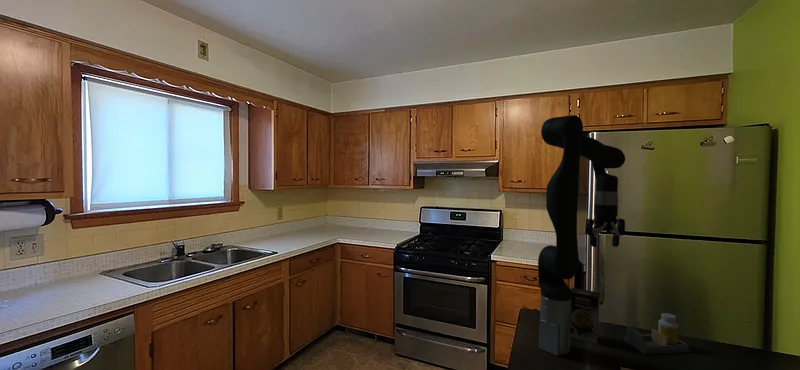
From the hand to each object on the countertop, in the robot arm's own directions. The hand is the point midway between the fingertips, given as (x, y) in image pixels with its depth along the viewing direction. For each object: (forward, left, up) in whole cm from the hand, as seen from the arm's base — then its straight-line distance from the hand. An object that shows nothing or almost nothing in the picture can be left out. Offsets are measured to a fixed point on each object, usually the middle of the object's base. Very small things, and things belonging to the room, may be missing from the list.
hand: (604, 246), depth 130 cm
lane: (-2, -18, -30) cm, 35 cm away
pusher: (-2, -18, -29) cm, 35 cm away
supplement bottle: (+1, -20, -30) cm, 36 cm away
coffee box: (-15, +1, -30) cm, 34 cm away
